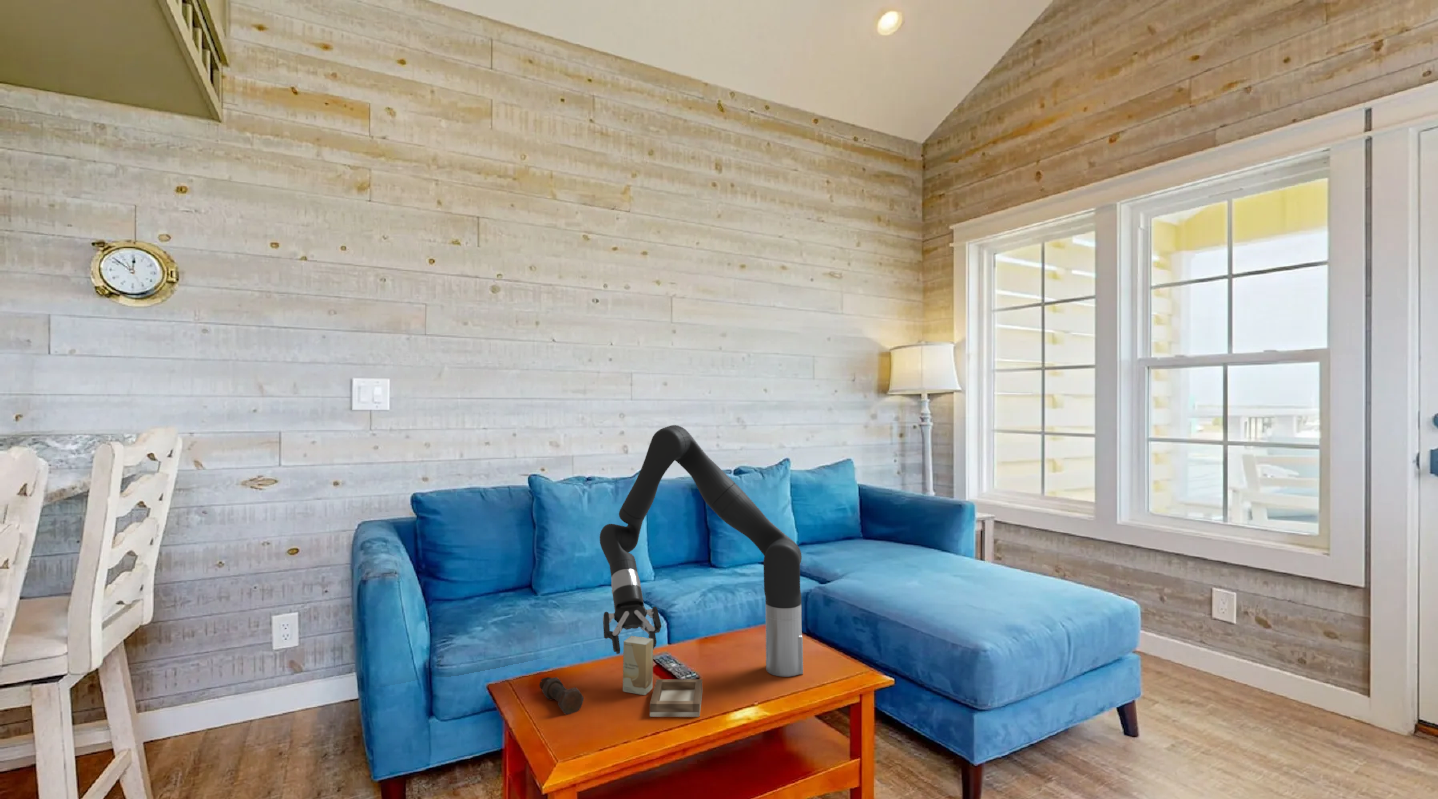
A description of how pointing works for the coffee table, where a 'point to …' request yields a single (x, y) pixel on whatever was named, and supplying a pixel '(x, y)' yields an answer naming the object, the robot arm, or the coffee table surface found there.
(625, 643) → the skincare box
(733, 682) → the coffee table surface
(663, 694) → the tray
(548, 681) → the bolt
